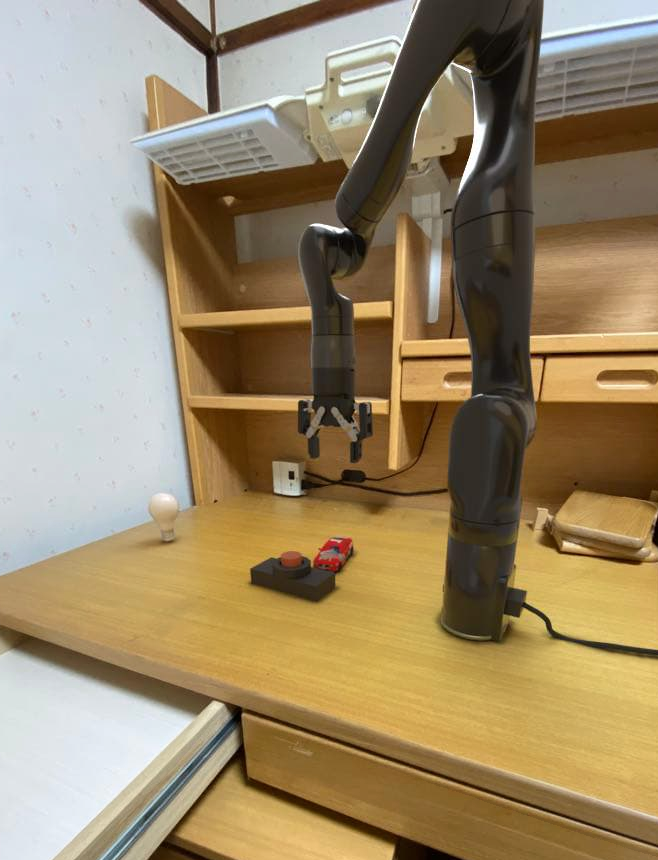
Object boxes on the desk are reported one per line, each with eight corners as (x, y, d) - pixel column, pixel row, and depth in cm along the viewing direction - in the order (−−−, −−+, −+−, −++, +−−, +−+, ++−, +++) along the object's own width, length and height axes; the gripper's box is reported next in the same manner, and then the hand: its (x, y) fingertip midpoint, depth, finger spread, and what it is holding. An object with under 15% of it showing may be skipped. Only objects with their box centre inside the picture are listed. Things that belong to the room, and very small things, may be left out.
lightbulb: (175, 547, 99) (168, 497, 95) (147, 545, 100) (139, 496, 96) (188, 537, 105) (182, 490, 101) (163, 535, 105) (155, 489, 102)
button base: (336, 587, 80) (335, 563, 79) (315, 602, 75) (314, 578, 74) (273, 570, 87) (271, 548, 85) (250, 584, 82) (248, 560, 80)
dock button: (306, 562, 80) (305, 553, 80) (293, 570, 77) (293, 560, 77) (289, 558, 82) (289, 549, 81) (277, 565, 79) (276, 556, 78)
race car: (336, 577, 84) (336, 557, 83) (309, 573, 86) (308, 553, 85) (357, 550, 96) (357, 532, 95) (333, 547, 98) (332, 530, 96)
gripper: (286, 365, 78) (290, 460, 84) (359, 365, 72) (358, 468, 77) (311, 365, 84) (313, 453, 90) (380, 364, 78) (378, 460, 83)
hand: (334, 460), depth 84 cm, fingers open, 8 cm apart
